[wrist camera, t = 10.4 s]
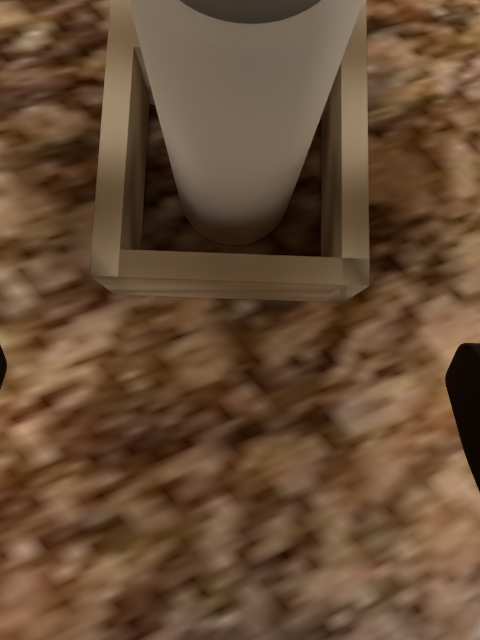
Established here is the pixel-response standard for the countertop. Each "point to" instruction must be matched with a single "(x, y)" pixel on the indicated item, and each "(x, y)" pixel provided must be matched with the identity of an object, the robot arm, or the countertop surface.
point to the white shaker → (240, 100)
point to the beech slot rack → (226, 268)
